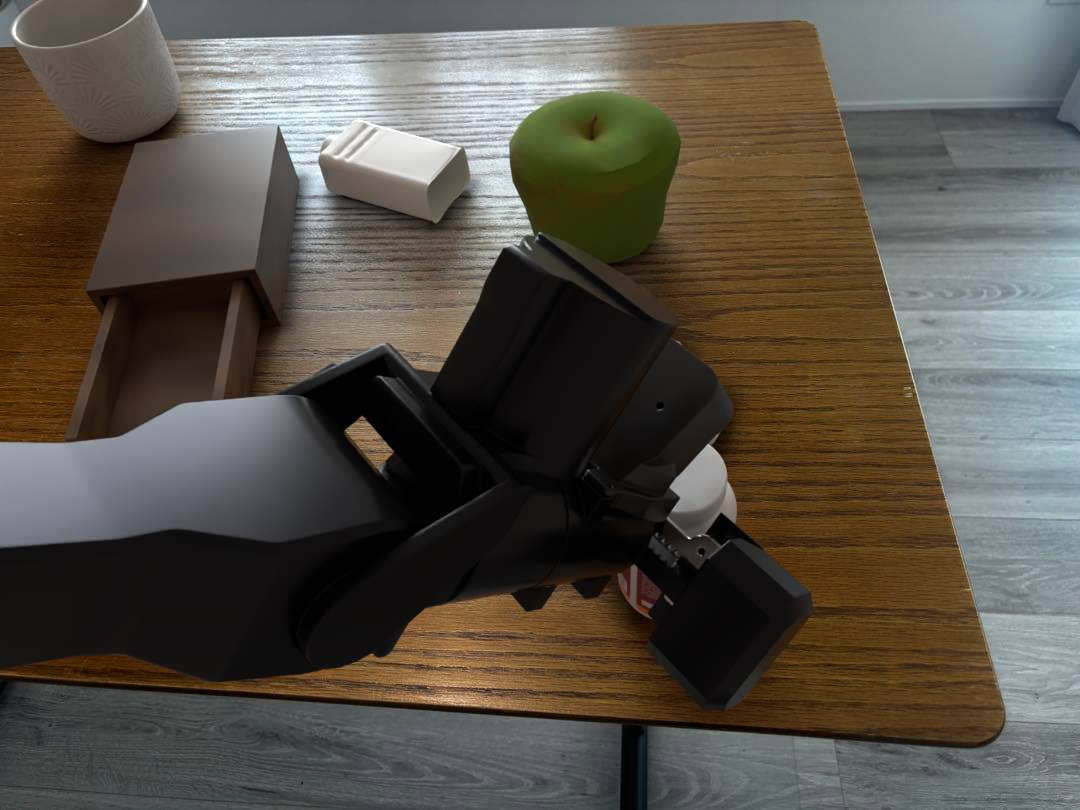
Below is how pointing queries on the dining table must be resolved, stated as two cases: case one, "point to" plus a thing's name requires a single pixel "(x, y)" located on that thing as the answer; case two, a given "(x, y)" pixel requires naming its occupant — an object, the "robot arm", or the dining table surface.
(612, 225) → the apple
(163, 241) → the cabinet
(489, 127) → the dining table surface
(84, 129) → the planter
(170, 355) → the drawer
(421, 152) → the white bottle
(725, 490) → the pill bottle
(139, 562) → the robot arm
